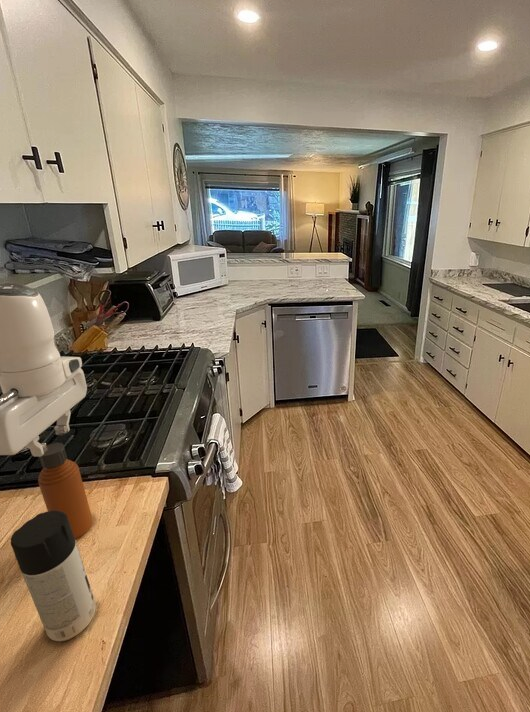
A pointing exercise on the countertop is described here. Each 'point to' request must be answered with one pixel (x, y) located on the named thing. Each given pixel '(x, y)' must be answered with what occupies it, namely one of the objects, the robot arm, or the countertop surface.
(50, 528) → the spray can
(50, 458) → the cap
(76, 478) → the bottle
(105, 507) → the countertop surface
